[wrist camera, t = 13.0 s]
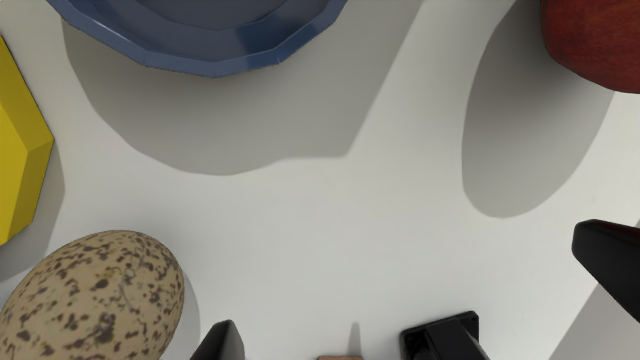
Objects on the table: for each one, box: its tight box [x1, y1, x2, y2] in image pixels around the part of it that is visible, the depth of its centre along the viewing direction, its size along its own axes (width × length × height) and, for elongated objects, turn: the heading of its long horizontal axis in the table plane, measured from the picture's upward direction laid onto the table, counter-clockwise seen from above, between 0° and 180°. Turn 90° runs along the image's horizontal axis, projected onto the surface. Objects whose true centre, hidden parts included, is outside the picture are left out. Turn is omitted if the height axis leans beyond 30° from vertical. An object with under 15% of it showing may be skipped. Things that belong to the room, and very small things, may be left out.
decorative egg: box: [0, 230, 184, 360], centre depth 15 cm, size 7×7×10 cm
